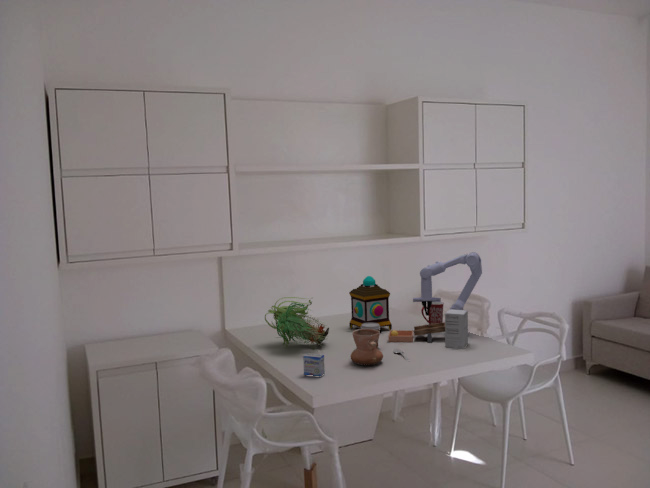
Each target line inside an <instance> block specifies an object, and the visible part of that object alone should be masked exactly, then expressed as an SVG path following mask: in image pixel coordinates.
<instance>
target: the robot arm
mask: <svg viewBox="0 0 650 488" xmlns="http://www.w3.org/2000/svg"><path fill="white" fill-rule="evenodd" d="M459 264H460V265H467V267H468V268H469V270H470V272H471V274H470V276H469V277H468V280H467V281H466V283H465V285H464V287H463V288H462V290H461V292H460V294H459V296H458V298H457V299H456V301H455V302H454V303H453V304H452V305H451V307H449V309H453V310H464V307H465V304H466V303H467V301H468V299H469V298H470V296H471V294H472V293H473V290H474V289H475V287H476V285H477V283H478V282H479V280H480V278H481V276H482V274H483V267H482V266H483V265H482V259H481V256H480V255H479V253H478V252H473V251H472V252H469V253H466V254H462V255H459V256H457V257H454V258H452V259H450V260H447V261H438V260H437V261H436V262H435V263H434V264H431V265H430V264H428V265H427V266H426V267H423V268H421V270H420V271H419V276H420V297H412V302H413V303H421V305H422V307H424V310H423V311H424V312H425V314H424V315H425V317H428V314H429V309H430V307H431V305H432V302H442V299H441V297H433V281H432V277H435V276H437V275H439V274H442V273H445V271H446V270H447V269H448V268H450V267H451V268H452V267H454V266H457V265H459ZM426 306H427V307H426Z"/></svg>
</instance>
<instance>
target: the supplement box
mask: <svg viewBox="0 0 650 488" xmlns="http://www.w3.org/2000/svg"><path fill="white" fill-rule="evenodd" d="M468 312H469V311H468V310H466V309H465V310H464V309H463V310H453V309H450V308H449V309H448V310H447V311H446V312H445V313H444V322H445V332H444V335H445V336H444V337H445V338H444V343H445V348H452V349H454V348H455V349H463V350H464V349H465V348H466V347H467V346H468V345H469V327H468V326H469V316H468V314H469V313H468Z"/></svg>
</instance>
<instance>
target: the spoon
mask: <svg viewBox="0 0 650 488" xmlns="http://www.w3.org/2000/svg"><path fill="white" fill-rule="evenodd" d="M396 352H397V353H400V355H402V356H403V358H404V360H405V359H406V360H411V359H410V358H408V356H406V355H405V354H404V351H402V350H401V349H399V348H394V349H393V353H395V354H397V353H396ZM406 360H405V361H406Z"/></svg>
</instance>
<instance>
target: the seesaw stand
mask: <svg viewBox="0 0 650 488" xmlns="http://www.w3.org/2000/svg"><path fill="white" fill-rule="evenodd" d="M426 335H427V336H426V337H427V338H426V339H427V343H431V344H432V343H433V342H432V335H433V334H431V333H427V334H426Z"/></svg>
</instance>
